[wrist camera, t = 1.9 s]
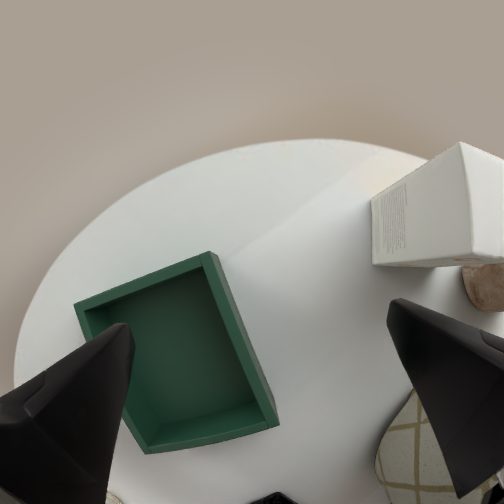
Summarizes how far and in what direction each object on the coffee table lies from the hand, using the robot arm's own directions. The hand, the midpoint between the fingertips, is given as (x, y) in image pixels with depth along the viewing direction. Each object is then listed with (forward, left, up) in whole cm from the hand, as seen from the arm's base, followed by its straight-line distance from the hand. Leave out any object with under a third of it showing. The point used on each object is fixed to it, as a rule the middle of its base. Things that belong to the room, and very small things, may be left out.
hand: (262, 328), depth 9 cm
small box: (-5, -15, -14) cm, 21 cm away
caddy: (0, +8, -14) cm, 16 cm away
